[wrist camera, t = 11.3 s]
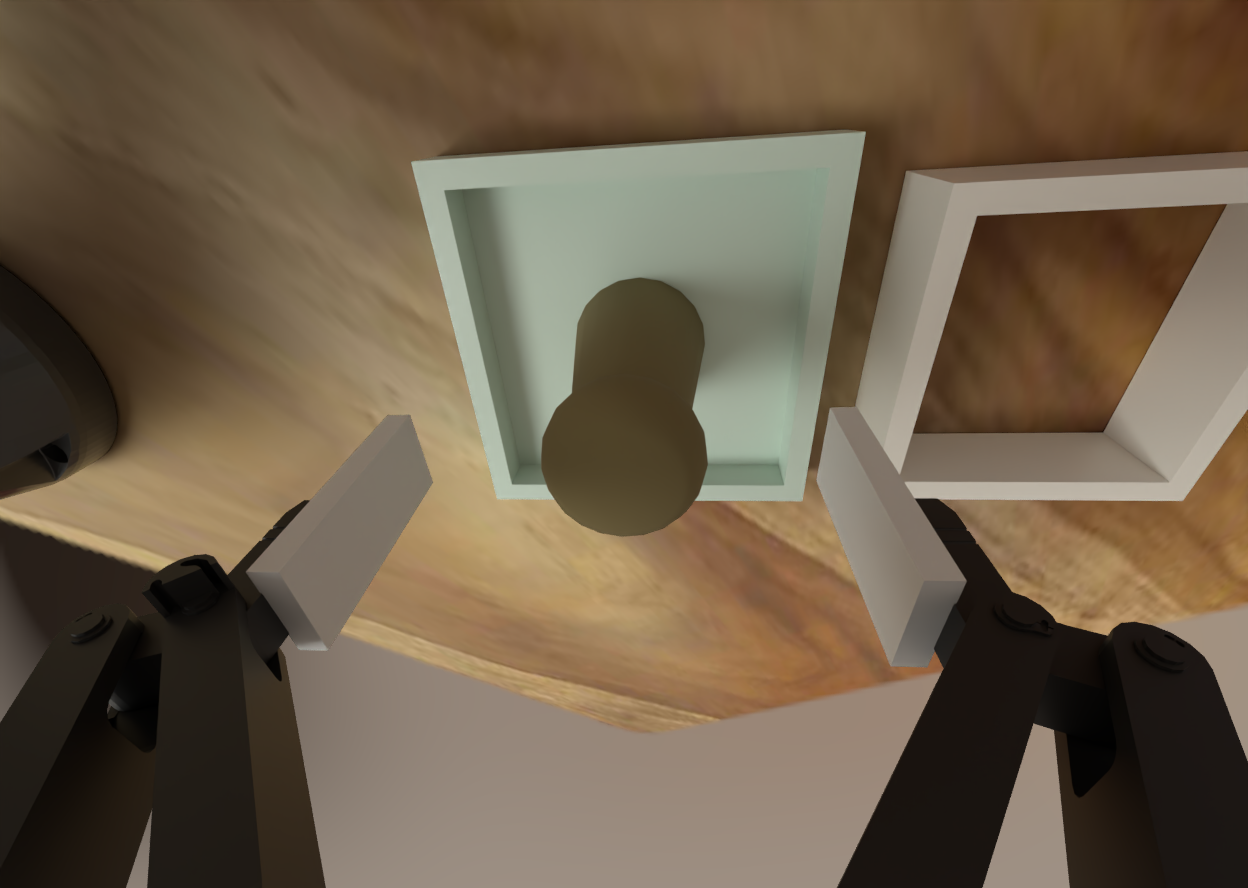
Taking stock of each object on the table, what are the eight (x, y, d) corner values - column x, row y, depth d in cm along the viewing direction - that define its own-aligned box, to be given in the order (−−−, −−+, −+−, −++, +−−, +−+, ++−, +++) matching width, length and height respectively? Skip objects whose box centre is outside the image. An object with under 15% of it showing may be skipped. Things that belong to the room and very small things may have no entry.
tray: (509, 472, 29) (497, 499, 27) (436, 156, 21) (411, 161, 19) (793, 472, 28) (802, 501, 26) (845, 129, 19) (865, 131, 17)
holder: (845, 450, 27) (869, 498, 23) (906, 170, 19) (953, 183, 16) (1115, 449, 25) (1182, 500, 22) (1287, 148, 18) (1425, 157, 15)
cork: (718, 382, 24) (746, 547, 15) (601, 412, 26) (563, 579, 17) (685, 258, 21) (695, 372, 12) (555, 301, 23) (477, 431, 14)
